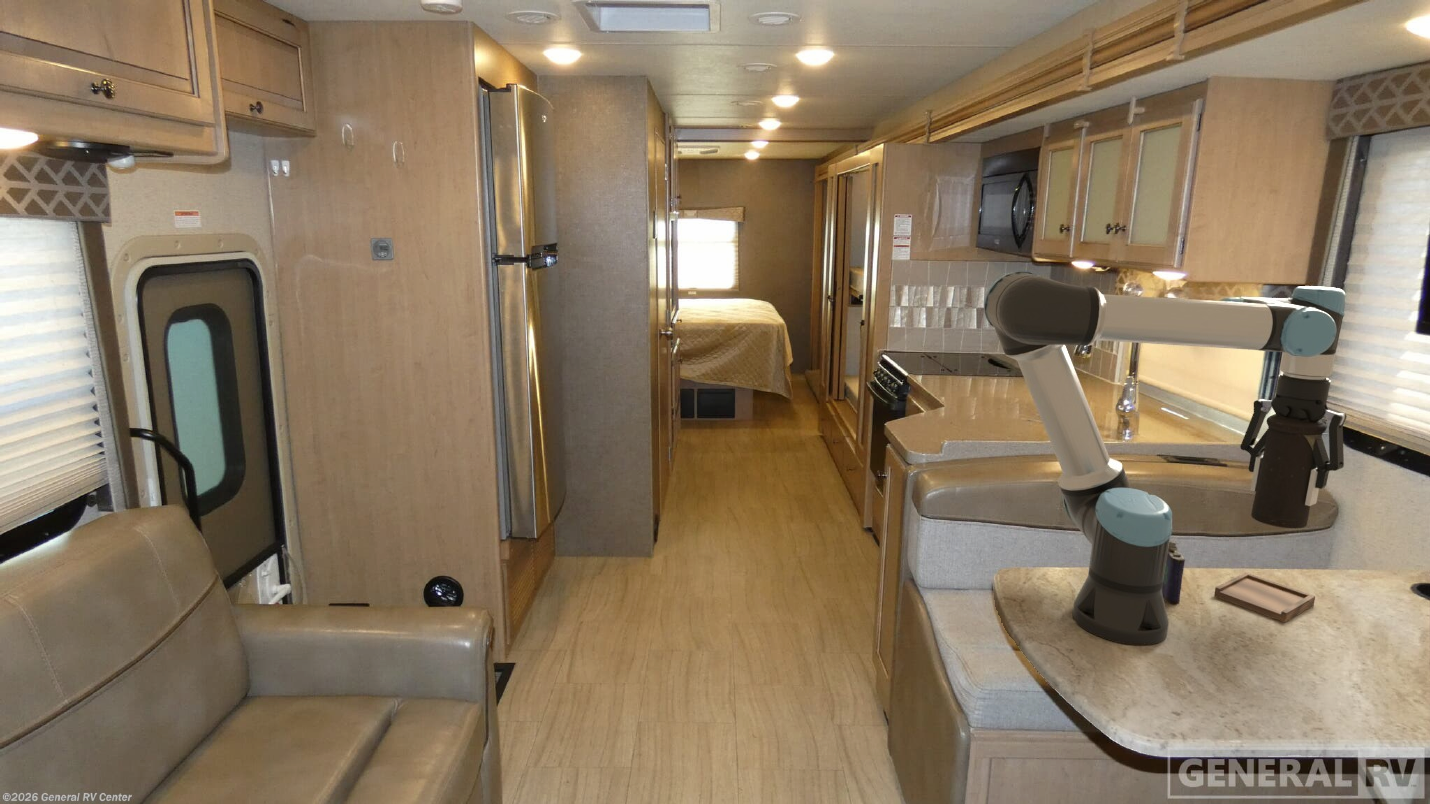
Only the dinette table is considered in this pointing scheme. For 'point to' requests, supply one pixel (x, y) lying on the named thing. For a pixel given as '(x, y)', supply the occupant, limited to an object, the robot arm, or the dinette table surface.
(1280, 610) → the square wooden tray
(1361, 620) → the dinette table surface
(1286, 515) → the container
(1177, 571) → the flask
